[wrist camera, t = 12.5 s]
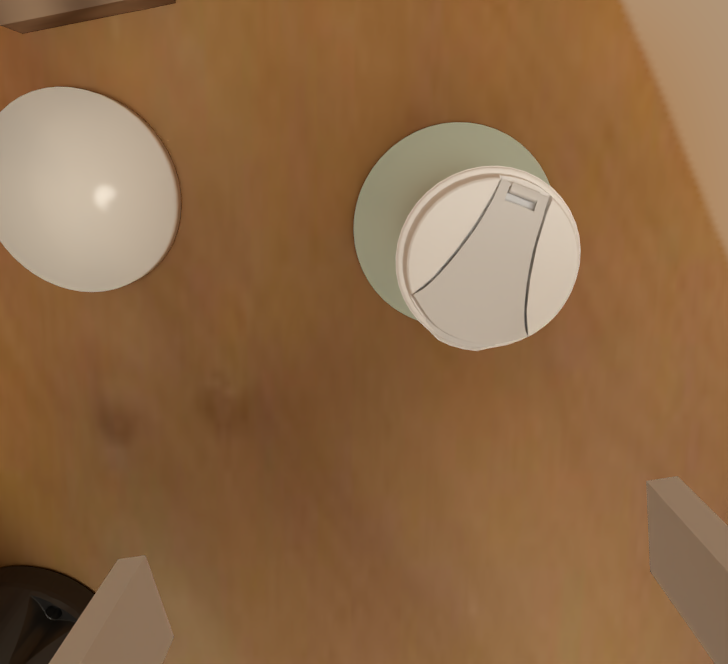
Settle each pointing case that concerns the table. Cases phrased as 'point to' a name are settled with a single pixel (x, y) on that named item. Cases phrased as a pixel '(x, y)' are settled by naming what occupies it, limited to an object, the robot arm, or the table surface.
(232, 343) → the table surface
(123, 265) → the white dish
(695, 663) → the table surface
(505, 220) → the paper cup
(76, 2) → the balance
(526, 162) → the sage dish
